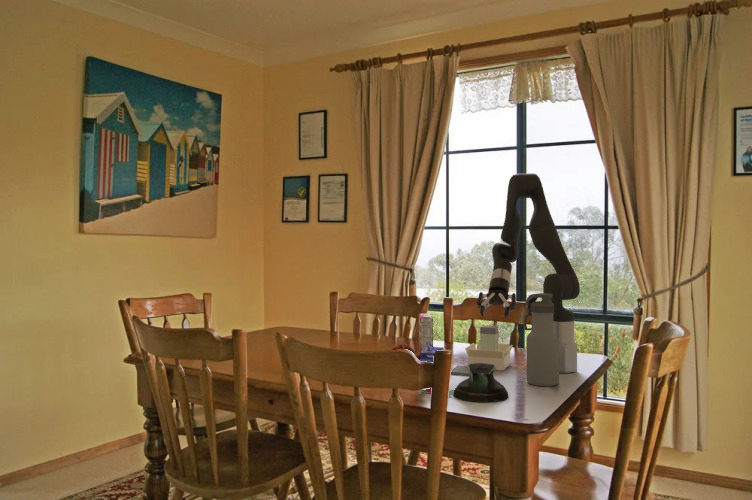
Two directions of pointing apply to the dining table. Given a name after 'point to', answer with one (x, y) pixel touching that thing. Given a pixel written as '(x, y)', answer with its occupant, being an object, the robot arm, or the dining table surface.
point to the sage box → (489, 337)
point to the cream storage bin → (490, 355)
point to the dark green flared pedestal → (480, 386)
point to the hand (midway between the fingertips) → (494, 316)
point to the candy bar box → (425, 330)
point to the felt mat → (461, 370)
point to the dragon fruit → (403, 347)
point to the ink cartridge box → (428, 357)
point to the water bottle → (541, 342)
